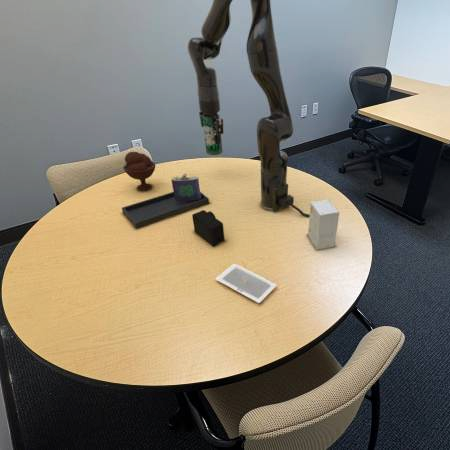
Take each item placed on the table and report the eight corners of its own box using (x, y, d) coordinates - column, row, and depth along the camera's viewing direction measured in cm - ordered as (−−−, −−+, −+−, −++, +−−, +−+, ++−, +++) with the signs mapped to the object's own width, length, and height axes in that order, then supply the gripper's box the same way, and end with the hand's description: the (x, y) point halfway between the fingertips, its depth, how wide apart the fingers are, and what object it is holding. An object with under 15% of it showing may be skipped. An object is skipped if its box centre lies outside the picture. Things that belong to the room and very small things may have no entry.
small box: (335, 246, 106) (340, 212, 99) (316, 250, 104) (320, 215, 97) (324, 232, 113) (328, 198, 105) (307, 235, 111) (310, 201, 103)
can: (203, 153, 136) (199, 116, 127) (212, 148, 140) (208, 112, 132) (216, 156, 134) (212, 118, 125) (224, 151, 139) (221, 114, 130)
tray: (209, 203, 124) (208, 198, 122) (136, 229, 108) (135, 223, 107) (193, 190, 131) (192, 185, 129) (123, 213, 115) (121, 207, 114)
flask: (201, 197, 126) (197, 171, 119) (201, 201, 123) (197, 175, 117) (175, 199, 123) (170, 173, 117) (174, 203, 121) (169, 176, 115)
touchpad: (234, 266, 96) (234, 260, 95) (277, 287, 90) (277, 282, 89) (215, 281, 91) (214, 276, 90) (259, 306, 85) (259, 300, 83)
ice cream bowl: (150, 196, 125) (141, 159, 117) (123, 192, 127) (112, 155, 118) (165, 183, 134) (158, 148, 125) (139, 179, 135) (131, 144, 127)
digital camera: (228, 239, 106) (226, 221, 102) (213, 246, 103) (211, 228, 99) (209, 225, 112) (206, 208, 108) (194, 232, 109) (192, 214, 105)
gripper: (227, 100, 123) (231, 144, 132) (207, 92, 131) (212, 134, 141) (209, 103, 119) (214, 148, 128) (190, 95, 127) (196, 137, 137)
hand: (213, 141), depth 134 cm, fingers closed on can, 6 cm apart
